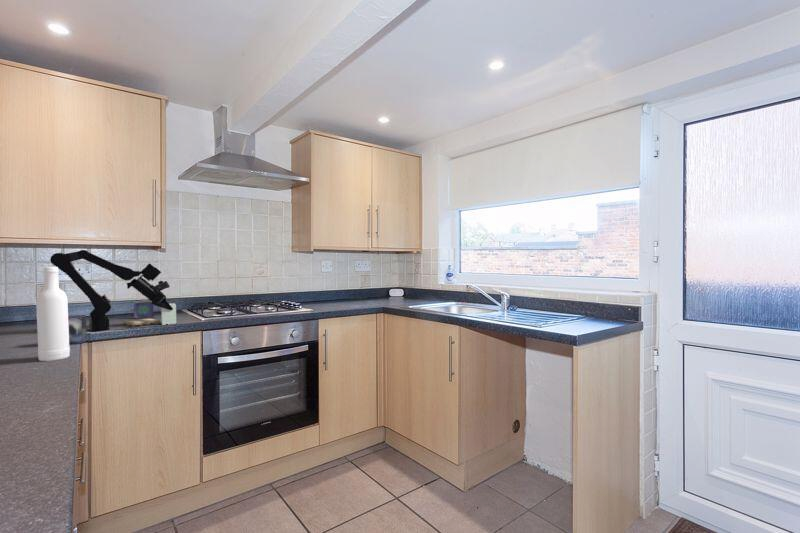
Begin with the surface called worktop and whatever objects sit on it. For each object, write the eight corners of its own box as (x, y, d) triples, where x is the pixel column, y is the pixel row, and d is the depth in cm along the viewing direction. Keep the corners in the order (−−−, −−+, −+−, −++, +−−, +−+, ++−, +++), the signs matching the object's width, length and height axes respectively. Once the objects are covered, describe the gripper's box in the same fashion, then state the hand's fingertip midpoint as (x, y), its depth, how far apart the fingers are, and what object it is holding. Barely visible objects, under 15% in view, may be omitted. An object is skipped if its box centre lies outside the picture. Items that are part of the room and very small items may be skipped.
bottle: (31, 361, 129) (27, 267, 128) (52, 355, 137) (48, 266, 136) (56, 361, 129) (52, 267, 128) (76, 355, 137) (72, 266, 136)
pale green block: (162, 324, 196) (161, 305, 196) (161, 323, 201) (160, 304, 201) (176, 323, 199) (175, 304, 199) (175, 322, 205) (174, 303, 205)
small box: (47, 346, 151) (46, 318, 151) (54, 343, 157) (53, 316, 157) (82, 343, 156) (81, 316, 155) (87, 340, 162) (86, 314, 161)
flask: (133, 319, 218) (133, 299, 218) (135, 318, 221) (134, 298, 220) (153, 318, 221) (152, 298, 221) (154, 317, 224) (154, 297, 223)
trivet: (133, 326, 194) (133, 323, 194) (122, 324, 201) (122, 321, 201) (160, 322, 204) (160, 320, 204) (149, 320, 211) (149, 318, 211)
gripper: (159, 276, 190) (186, 298, 196) (157, 274, 205) (182, 295, 212) (139, 294, 186) (168, 315, 192) (139, 291, 201) (165, 311, 208)
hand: (171, 308), depth 201 cm, fingers closed on pale green block, 6 cm apart
